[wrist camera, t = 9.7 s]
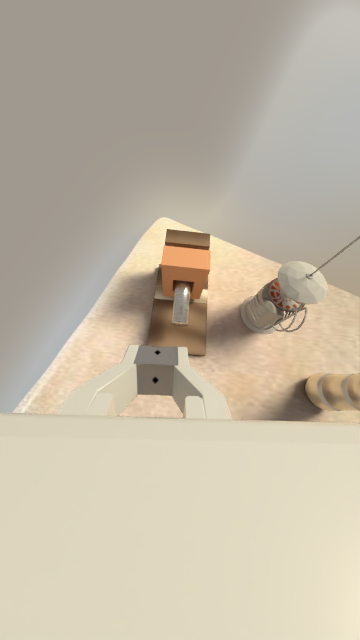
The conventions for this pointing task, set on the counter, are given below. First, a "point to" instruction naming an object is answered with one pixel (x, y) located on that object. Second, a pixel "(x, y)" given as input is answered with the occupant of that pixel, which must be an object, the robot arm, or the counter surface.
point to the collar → (184, 269)
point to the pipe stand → (163, 305)
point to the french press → (285, 296)
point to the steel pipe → (181, 303)
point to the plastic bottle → (334, 391)
